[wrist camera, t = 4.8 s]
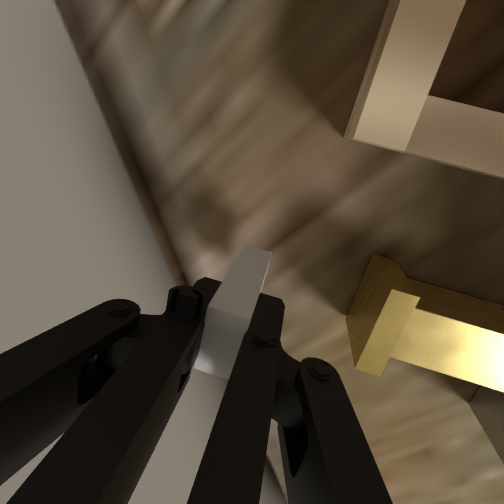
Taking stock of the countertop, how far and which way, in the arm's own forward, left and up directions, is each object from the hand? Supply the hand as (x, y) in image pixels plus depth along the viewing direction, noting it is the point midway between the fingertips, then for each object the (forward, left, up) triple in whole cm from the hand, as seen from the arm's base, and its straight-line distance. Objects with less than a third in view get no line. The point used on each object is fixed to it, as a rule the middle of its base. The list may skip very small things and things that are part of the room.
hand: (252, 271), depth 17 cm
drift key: (0, +11, -2) cm, 11 cm away
